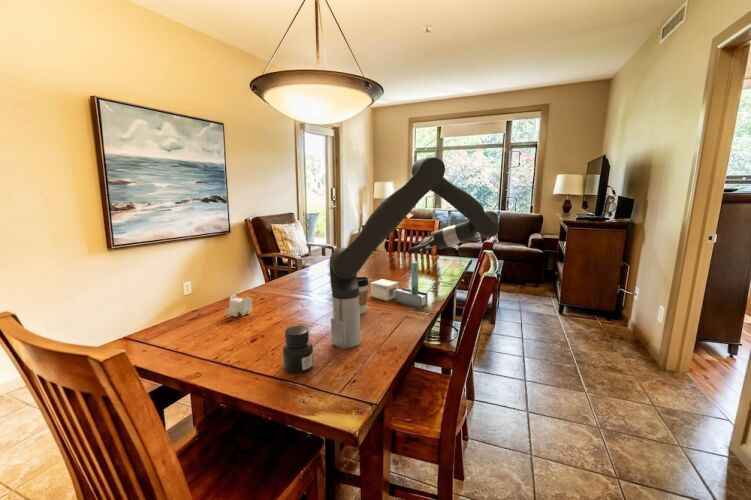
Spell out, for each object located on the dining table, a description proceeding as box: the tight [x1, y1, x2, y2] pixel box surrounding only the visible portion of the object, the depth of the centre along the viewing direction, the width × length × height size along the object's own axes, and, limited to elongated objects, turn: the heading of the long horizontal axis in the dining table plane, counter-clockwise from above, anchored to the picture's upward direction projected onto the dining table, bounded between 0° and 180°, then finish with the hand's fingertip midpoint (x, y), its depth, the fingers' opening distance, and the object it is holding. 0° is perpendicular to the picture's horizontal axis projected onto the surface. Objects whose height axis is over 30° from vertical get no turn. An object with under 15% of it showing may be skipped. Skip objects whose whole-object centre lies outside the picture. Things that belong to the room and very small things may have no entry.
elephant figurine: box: [224, 293, 254, 317], centre depth 146 cm, size 10×12×9 cm
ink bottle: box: [282, 325, 315, 375], centre depth 102 cm, size 10×9×12 cm
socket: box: [370, 278, 400, 301], centre depth 168 cm, size 9×10×7 cm
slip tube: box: [393, 261, 426, 305], centre depth 156 cm, size 4×16×19 cm, turn 48°
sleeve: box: [394, 287, 428, 309], centre depth 157 cm, size 6×14×6 cm, turn 48°
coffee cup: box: [357, 276, 369, 315], centre depth 147 cm, size 8×8×15 cm
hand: (411, 248), depth 142 cm, fingers open, 8 cm apart
